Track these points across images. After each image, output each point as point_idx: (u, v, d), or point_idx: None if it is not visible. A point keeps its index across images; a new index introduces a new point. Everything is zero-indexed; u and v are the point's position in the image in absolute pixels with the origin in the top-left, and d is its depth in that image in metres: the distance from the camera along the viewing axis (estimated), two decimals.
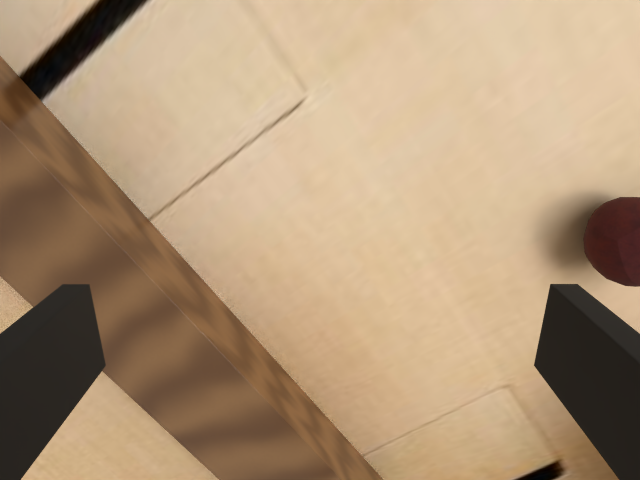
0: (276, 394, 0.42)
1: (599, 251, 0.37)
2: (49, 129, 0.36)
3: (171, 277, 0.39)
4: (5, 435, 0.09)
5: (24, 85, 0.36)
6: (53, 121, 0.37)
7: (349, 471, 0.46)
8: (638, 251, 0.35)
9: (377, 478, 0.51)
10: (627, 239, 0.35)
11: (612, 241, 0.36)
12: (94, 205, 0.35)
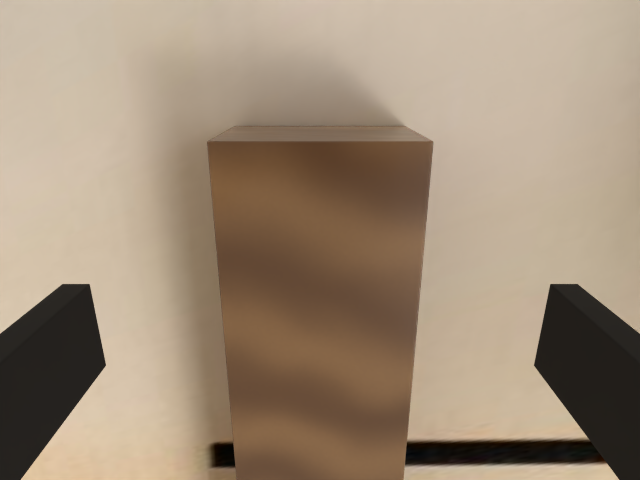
0: None
1: None
2: None
3: None
4: (6, 434, 0.09)
5: None
6: None
7: None
8: None
9: None
10: None
11: None
12: None
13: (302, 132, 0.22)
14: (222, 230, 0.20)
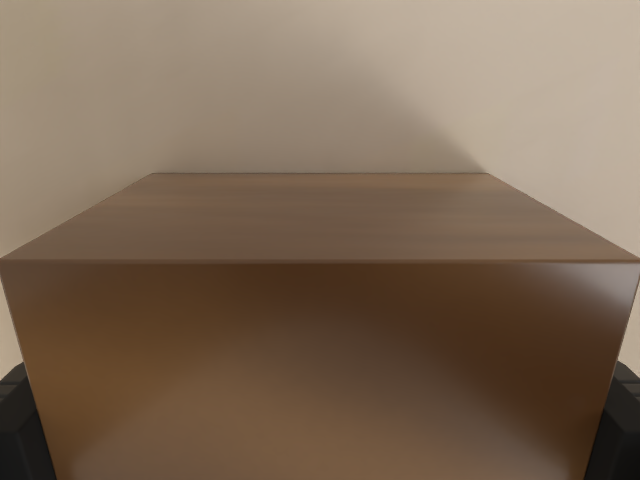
0: None
1: None
2: None
3: None
4: None
5: None
6: None
7: None
8: None
9: None
10: None
11: None
12: None
13: (279, 202, 0.10)
14: (70, 467, 0.08)
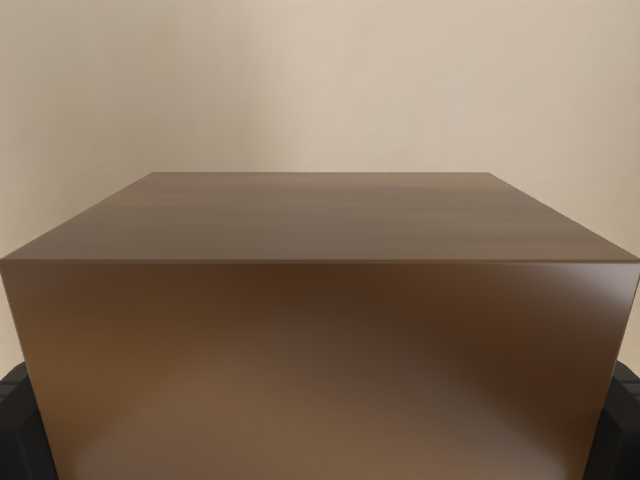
0: None
1: None
2: None
3: None
4: None
5: None
6: None
7: None
8: None
9: None
10: None
11: None
12: None
13: (280, 202, 0.10)
14: (72, 466, 0.08)
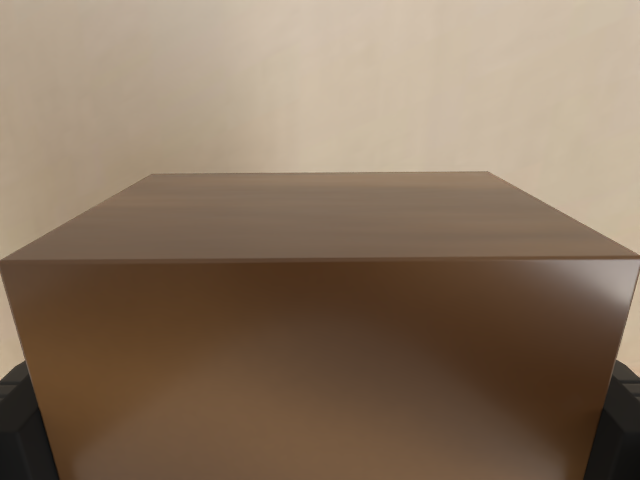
0: None
1: None
2: None
3: None
4: None
5: None
6: None
7: None
8: None
9: None
10: None
11: None
12: None
13: (279, 201, 0.10)
14: (73, 467, 0.08)
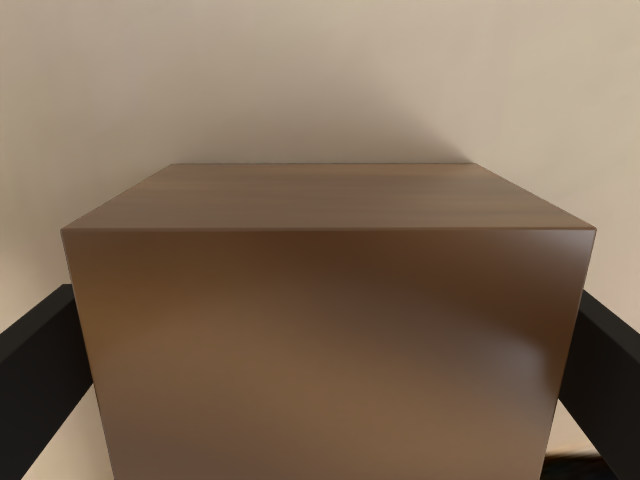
0: None
1: None
2: None
3: None
4: (6, 435, 0.09)
5: None
6: None
7: None
8: None
9: None
10: None
11: None
12: None
13: (290, 186, 0.11)
14: (114, 411, 0.09)
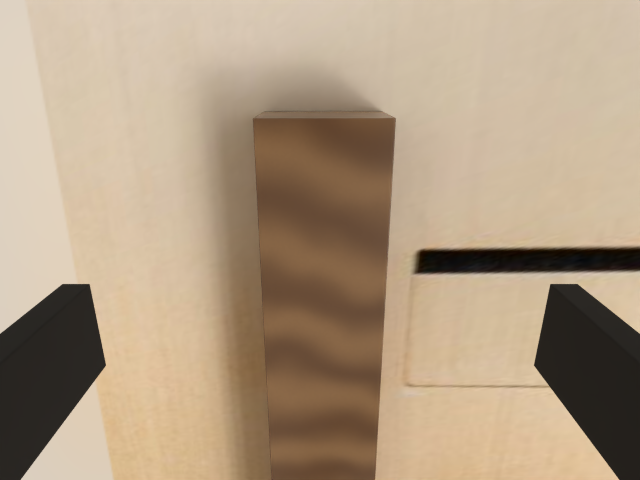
0: None
1: None
2: None
3: None
4: (6, 435, 0.09)
5: None
6: None
7: None
8: None
9: None
10: None
11: None
12: None
13: (312, 114, 0.33)
14: (260, 177, 0.32)
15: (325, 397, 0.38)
